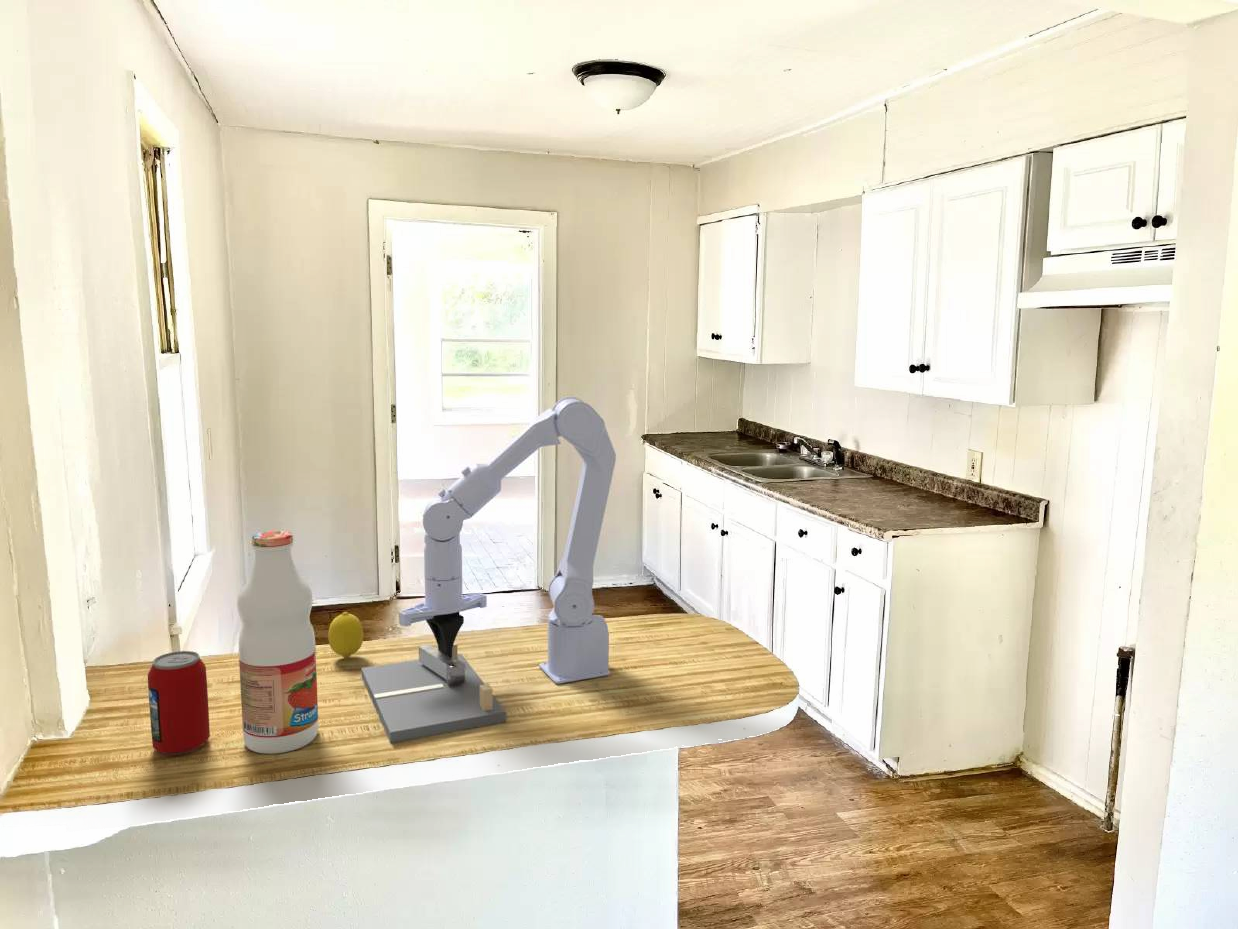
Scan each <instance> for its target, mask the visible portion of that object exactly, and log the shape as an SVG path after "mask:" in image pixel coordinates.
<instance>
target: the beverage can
mask: <svg viewBox="0 0 1238 929" xmlns="http://www.w3.org/2000/svg"><path fill="white" fill-rule="evenodd" d="M147 688H148V690H147V691H148V703H149V704H148V705H149V718H150V729H151V731H150V733H151V741H152V743H151V744H152V747H153V749H154V750H155V751H157V752H158V753H159V752H160V753H163V754H166V755H170V756H171V755H172V756H177V755H183V754H188V753H191V752H193V751H195V750H197V749H199V748H200V747H201V746H202V745H204V744H205V743H206V742H208V740H209V739H210V738H211V737H210V736H211V734H210V733H211V732H210V731H211V730H210V715H209V714H210V713H209V694H208V692H209V691H208V680H207V666H206V664H205V663H204V662H203V659H201V658H200V654H199V653H198V652H197V651H196V652H195V651H191V650H182V651H181V650H180V651H179V650H178V651H172V652H167V653H164V654H162V655H159V656H157V657H155V658H154V659H153V661H152V666H151V667H150V669H149V670H148V673H147Z"/></svg>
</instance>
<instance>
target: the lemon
mask: <svg viewBox="0 0 1238 929" xmlns="http://www.w3.org/2000/svg"><path fill="white" fill-rule="evenodd" d="M327 634H328V637H327V638H328V644H329V647H330V648H331V650H332V651H333V652H334V653H335V654H336V655H338V656H341V657H343V658H344V659H349V658H350V657H351V656H352V655H354V654H355V653H357V652H358V651H359V650H360V648H361V647H362V645H363V642H364V630H363V625H362V623H361V621H360V619H359V618H358V617H357V616H355V615H353V614H351V613H348V611H343V612H342V614H339V615H337V616H336V617H334V619H333V620H332V622H330V625H329V628H328V633H327Z"/></svg>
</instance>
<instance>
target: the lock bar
mask: <svg viewBox="0 0 1238 929" xmlns="http://www.w3.org/2000/svg"><path fill="white" fill-rule="evenodd" d="M418 660H419V662H421V663H422V664H424V665H425V666H427V667H428V668H430V669H431V670H433V671H434V672H435V673H437V674H438V675H440V676H441V677H443V678H444V679H446V682H447V683H448V684H450V685H459V684H462V683H464V682H465V664H464V663H462V662H457V661H455V660H454V659H452V658H451V657H449V656H447V655H446V654H444V653H443V652H441V651H439V650H438V648H436V647H434V646H433V645H432V644H429V643H426V644H423V645H420V646H418Z"/></svg>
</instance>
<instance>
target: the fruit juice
mask: <svg viewBox="0 0 1238 929" xmlns="http://www.w3.org/2000/svg"><path fill="white" fill-rule="evenodd" d="M293 543H294V536H293V534H292V533H291V532H290V531H286V530H269V531H262V532H258V533H256V534H253V535H252V536H251V546H252V550H254V553H255V557H254V563H253V567H252V571H251V574H250V576H249V579H248V580H247V582H246V583H245V584H244V585H243V587H242V588H241V590H240V592H239V594H238V597H237V607H236V608H237V612H238V615H239V618H240V621H241V624H242V626H241V631H240V634H239V635H238V636H239V637H238V662H239V664H238V666H239V684H240V685H239V686H240V703H241V718H242V720H241V721H242V737H243V738H242V739H243V742H244V745H245V747H246V748H247V749H248V750H250V751H252V752H255V753H259V754H267V755H273V754H274V755H275V754H283V753H288V752H292V751H295V750H299V749H301V748H303V747H306V746H308V745H309V744H310V743H312V742H313V741H314V740H315V738H316V737H317V735H318V733H319V704H318V703H319V702H318V684H317V683H318V679H317V678H318V677H317V676H318V675H317V655H316V653H317V649H316V646H317V645H316V637H315V630H314V627H313V625H312V623H311V620H310V614H311V613H312V612H311V611H312V606H313V602H314V601H313V594H312V590H311V588H310V586H309V584H308V583H307V582H306V580H304V578H302V576H301V575H300V573H298V569H297V568H296V566H295V563H294V561H293V556H292V551H291V550H292V547H293V546H294V544H293Z"/></svg>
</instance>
